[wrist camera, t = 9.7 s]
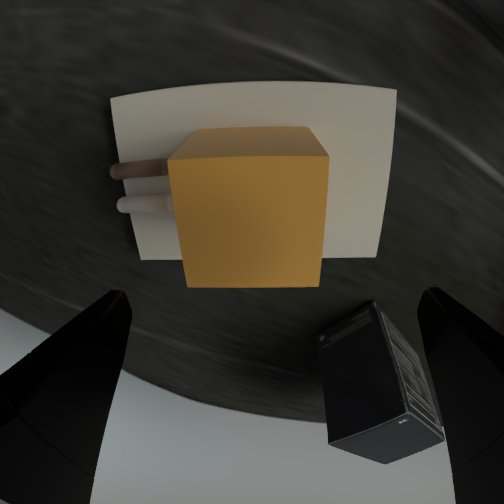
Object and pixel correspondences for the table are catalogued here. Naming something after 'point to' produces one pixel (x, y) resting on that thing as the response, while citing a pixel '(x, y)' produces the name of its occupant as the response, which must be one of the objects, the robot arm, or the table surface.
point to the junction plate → (259, 115)
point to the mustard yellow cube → (250, 206)
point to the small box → (375, 389)
